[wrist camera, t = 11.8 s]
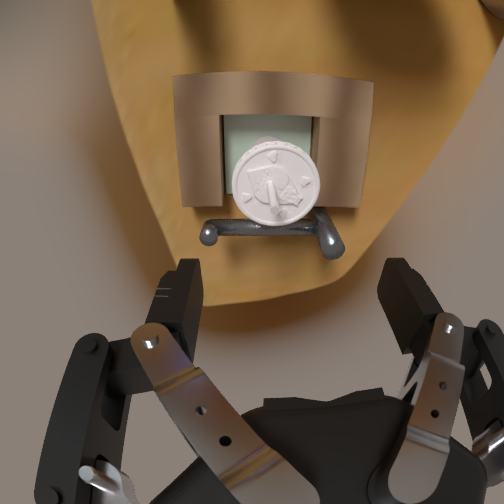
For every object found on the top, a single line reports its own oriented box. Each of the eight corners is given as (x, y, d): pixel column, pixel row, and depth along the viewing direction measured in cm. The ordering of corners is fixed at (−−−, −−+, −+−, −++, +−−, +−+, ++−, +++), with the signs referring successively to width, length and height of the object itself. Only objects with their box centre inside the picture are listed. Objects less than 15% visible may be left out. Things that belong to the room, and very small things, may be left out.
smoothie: (257, 111, 26) (265, 138, 14) (312, 144, 28) (358, 199, 16) (224, 164, 29) (207, 232, 17) (278, 193, 31) (296, 275, 19)
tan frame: (362, 81, 24) (374, 82, 21) (350, 196, 31) (359, 207, 29) (180, 76, 24) (172, 75, 21) (188, 195, 31) (182, 207, 28)
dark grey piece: (323, 197, 31) (346, 240, 24) (321, 213, 32) (342, 259, 25) (208, 197, 31) (194, 240, 24) (209, 213, 32) (197, 260, 25)
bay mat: (311, 114, 26) (311, 115, 26) (306, 193, 31) (306, 194, 31) (223, 113, 26) (223, 113, 26) (226, 192, 31) (226, 193, 31)
